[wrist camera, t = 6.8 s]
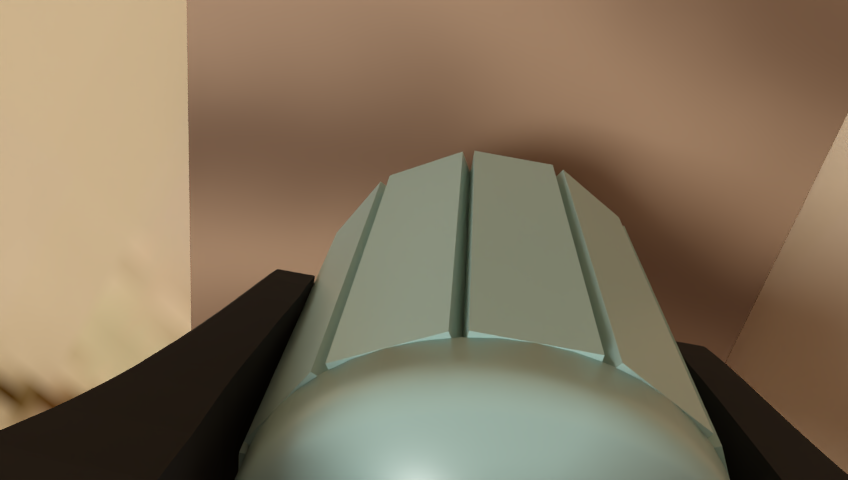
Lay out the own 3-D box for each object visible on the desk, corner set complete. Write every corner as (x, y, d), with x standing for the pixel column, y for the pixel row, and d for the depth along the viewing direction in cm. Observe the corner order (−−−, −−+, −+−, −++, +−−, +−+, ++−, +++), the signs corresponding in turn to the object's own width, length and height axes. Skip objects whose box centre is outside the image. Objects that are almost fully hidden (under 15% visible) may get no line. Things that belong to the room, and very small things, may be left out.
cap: (586, 436, 13) (657, 798, 8) (317, 387, 13) (205, 716, 8) (681, 188, 10) (887, 479, 5) (345, 127, 10) (203, 355, 5)
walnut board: (630, 515, 21) (637, 542, 20) (205, 438, 21) (193, 462, 20) (981, -236, 11) (1023, -248, 10) (204, -379, 11) (180, -404, 10)
